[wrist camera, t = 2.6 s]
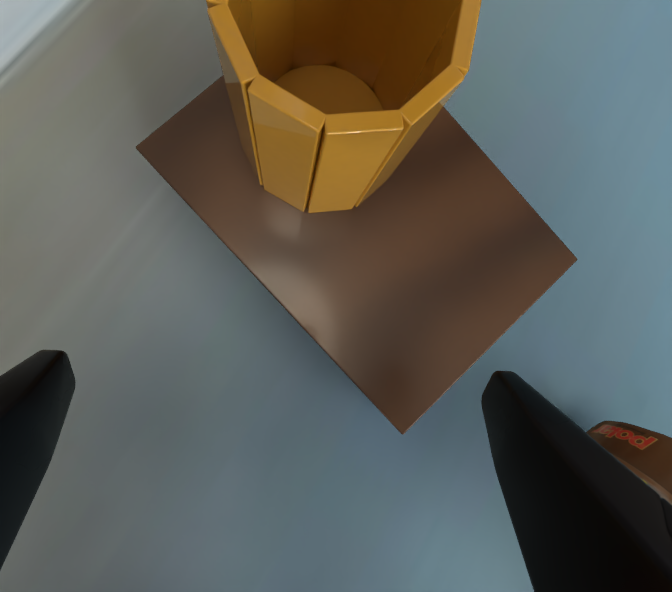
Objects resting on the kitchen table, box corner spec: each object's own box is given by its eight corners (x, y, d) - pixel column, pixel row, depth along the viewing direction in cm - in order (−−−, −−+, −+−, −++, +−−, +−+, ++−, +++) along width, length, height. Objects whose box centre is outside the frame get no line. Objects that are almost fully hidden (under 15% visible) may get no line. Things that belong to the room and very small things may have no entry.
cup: (427, 143, 19) (532, 17, 11) (314, 245, 18) (339, 190, 10) (327, 29, 18) (359, -185, 11) (208, 128, 18) (146, -22, 10)
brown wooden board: (526, 269, 24) (578, 259, 19) (381, 412, 22) (403, 435, 18) (326, 43, 23) (335, -18, 19) (163, 179, 22) (134, 146, 17)
